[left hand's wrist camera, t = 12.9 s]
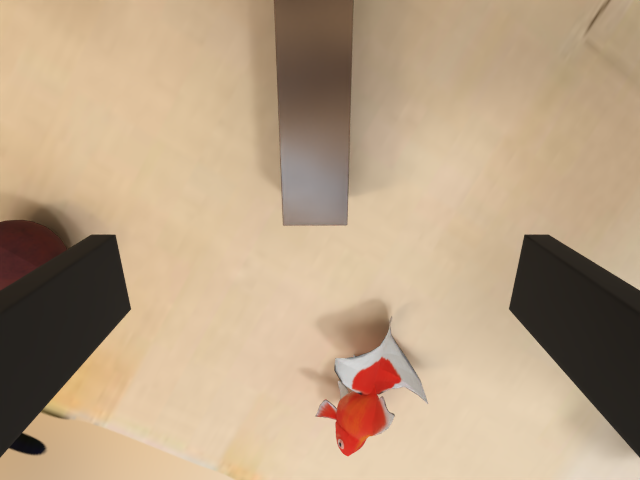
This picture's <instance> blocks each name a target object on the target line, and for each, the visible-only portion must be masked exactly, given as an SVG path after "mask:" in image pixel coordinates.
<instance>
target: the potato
mask: <svg viewBox="0 0 640 480" xmlns="http://www.w3.org/2000/svg"><path fill="white" fill-rule="evenodd" d="M66 250H67V248H66V247H65V245H64V244H63V242H62V241H61V239H60V238H59V237H58V236H57V235H56V234H54V233H53V232H52V231H51V230H50V229H48V228H47V227H45V226H43V225H40V224H38V223H35V222H31V221H25V220H10V221H3V222H0V290H2V289H4V288H5V287H7V286H9V285H10V284H12V283H14V282H15V281H17V280H18V279H20V278H22V277H23V276H25V275H27V274H28V273H30V272H31V271H33V270H35V269H36V268H38V267H40V266H41V265H43V264H45V263H46V262H48V261H49V260H51V259H53V258H54V257H56V256H58V255H59V254H61V253H62V252H64V251H66Z"/></svg>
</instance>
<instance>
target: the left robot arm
mask: <svg viewBox="0 0 640 480" xmlns="http://www.w3.org/2000/svg"><path fill="white" fill-rule="evenodd" d="M130 310H131V307H130V302H129V297H128V293H127V288H126V283H125V278H124V273H123V269H122V264H121V259H120V254H119V249H118V245H117V240H116V235H90V236H89V237H87V238H85V239H84V240H82V241H80V242H79V243H77V244H76V245H74V246H72V247H71V248H69V249H67V250H66V251H64V252H62V253H61V254H59V255H58V256H56V257H54V258H53V259H51V260H49V261H48V262H46V263H45V264H43V265H41V266H40V267H38V268H36V269H35V270H33V271H31V272H30V273H28V274H27V275H25V276H23V277H22V278H20V279H18V280H17V281H15V282H14V283H12V284H10V285H9V286H7V287H5V288H4V289H2V290H0V457H1V456H2V455H3V454H4V453H5V452H6V450H7V449H8V448H9V447H10V446H11V445H12V444H13V442H14V441H15V440H16V439H17V438H18V437H19V436H20V435H21V433H22V432H23V431H24V430H25V429H26V428H27V427H28V425H29V424H30V423H31V422H32V421H33V420H34V419H35V417H36V416H37V415H38V414H39V413H40V412H41V411H42V410H43V408H44V407H45V406H46V405H47V404H48V403H49V402H50V400H51V399H52V398H53V397H54V396H55V395H56V394H57V393H58V391H59V390H60V389H61V388H62V387H63V386H64V385H65V383H66V382H67V381H68V380H69V379H70V378H71V377H72V376H73V374H74V373H75V372H76V371H77V370H78V369H79V368H80V366H81V365H82V364H83V363H84V362H85V361H86V360H87V359H88V357H89V356H90V355H91V354H92V353H93V352H94V351H95V349H96V348H97V347H98V346H99V345H100V344H101V343H102V341H103V340H104V339H105V338H106V337H107V336H108V335H109V334H110V332H111V331H112V330H113V329H114V328H115V327H116V326H117V324H118V323H119V322H120V321H121V320H122V319H123V318H124V317H125V315H126V314H127V313H128V312H129V311H130ZM509 310H510V311H511V312H512V313H513V314H514V315H515V317H516V318H517V319H518V320H519V321H520V322H521V323H522V324H523V326H524V327H525V328H526V329H527V330H528V331H529V332H530V334H531V335H532V336H533V337H534V338H535V339H536V340H537V341H538V343H539V344H540V345H541V346H542V347H543V348H544V349H545V351H546V352H547V353H548V354H549V355H550V356H551V357H552V359H553V360H554V361H555V362H556V363H557V364H558V365H559V366H560V368H561V369H562V370H563V371H564V372H565V373H566V374H567V376H568V377H569V378H570V379H571V380H572V381H573V382H574V383H575V385H576V386H577V387H578V388H579V389H580V390H581V391H582V393H583V394H584V395H585V396H586V397H587V398H588V399H589V400H590V402H591V403H592V404H593V405H594V406H595V407H596V408H597V410H598V411H599V412H600V413H601V414H602V415H603V416H604V417H605V419H606V420H607V421H608V422H609V423H610V424H611V425H612V427H613V428H614V429H615V430H616V431H617V432H618V433H619V435H620V436H621V437H622V438H623V439H624V440H625V441H626V442H627V444H628V445H629V446H630V447H631V448H632V449H633V450H634V452H635V453H636V454H637V455H638V456H639V457H640V290H638V289H636V288H635V287H633V286H631V285H630V284H628V283H626V282H625V281H623V280H622V279H620V278H618V277H617V276H615V275H613V274H612V273H610V272H609V271H607V270H605V269H604V268H602V267H600V266H599V265H597V264H595V263H594V262H592V261H591V260H589V259H587V258H586V257H584V256H582V255H581V254H579V253H578V252H576V251H574V250H573V249H571V248H569V247H568V246H566V245H564V244H563V243H561V242H560V241H558V240H556V239H555V238H553V237H551V236H550V235H524V240H523V245H522V249H521V254H520V259H519V264H518V269H517V273H516V278H515V283H514V288H513V293H512V297H511V302H510V307H509Z"/></svg>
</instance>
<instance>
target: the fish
mask: <svg viewBox="0 0 640 480" xmlns="http://www.w3.org/2000/svg"><path fill="white" fill-rule="evenodd" d="M391 320H392V317H391V319H390V325H391ZM390 325H389V329H388V333H387V335H386V337H385V339H384V340H383V342H382V343H381V345H380V346H379V347H377V348H376V349H374V350H372V351H371V352H368V353H365V354H363V355H360V356H356V357H355V355H353V356H354V357H350V358H335V372H336V374H337V375H338V377H339V379H340V380H341V381H338V386H339V390H340V397H341V400H340V401H339V404H338V407H337V408H336V407H335V406H333V405H332V404H331V403H330V402H329V401H328V400H324V401H323V402H322V404H321V405H320V406H319V409H318V412H317V414H316V416H317V417H327V418H331V419H335V420H337V421H336V439H337V444H338V447H339V448H340V450H341V451H342V453H343V454H345V455H346V456H349V455H351V454H352V453H354V452H356V451H357V450H359V449H360V448H361V447H362V446H363V444H364V443H365V441H366V439H367V438H368V437H369V436H373V435H378V434H380V433H382V432H384V431H385V430H387V429H388V428H389V426H390V425H391V423H392V421H393V419H394V414H393V413H390V412H389V411H388V410H387V407H386V404H385V401H384V398H383V397H381V398H380V399H379V398H378V396H377V394H381V393H383V392H385V391H387V390H389V389H393V388H400V387H406V388H407V389H409V390H411V391H412V392H414V393H415V394H417V395H419V396H420V397H421V398H422V399H423V400H424V401H425V402H426V403H427V404H428V402H427V399H426V396H425V393H424V390H423V387H422V384H421V381H420V379H419V377H418V376H417V374H416V372H415V371H414V369H413V367H412V366H411V364H410V363H409V361H408V359H407V358H406V356H405V355H404V354H403V352H402V351H401V349H400V348H399V346H398V345H397V343H396V342H395V340H394V338H393V337H392V335H391V329H390ZM347 387H348V388H350V389H351V390H353V391H352V392H349V393H348V389H347ZM316 416H315V417H316Z"/></svg>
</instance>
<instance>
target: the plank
mask: <svg viewBox="0 0 640 480" xmlns="http://www.w3.org/2000/svg"><path fill="white" fill-rule="evenodd" d="M274 11H275V36H276V61H277V86H278V112H279V137H280V162H281V187H282V212H283V225H347V217H348V180H349V142H350V105H351V68H352V31H353V0H274Z"/></svg>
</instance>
